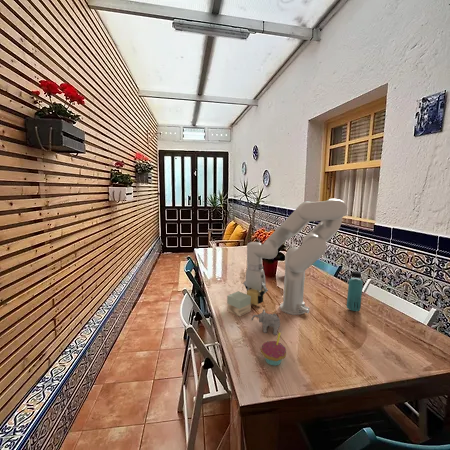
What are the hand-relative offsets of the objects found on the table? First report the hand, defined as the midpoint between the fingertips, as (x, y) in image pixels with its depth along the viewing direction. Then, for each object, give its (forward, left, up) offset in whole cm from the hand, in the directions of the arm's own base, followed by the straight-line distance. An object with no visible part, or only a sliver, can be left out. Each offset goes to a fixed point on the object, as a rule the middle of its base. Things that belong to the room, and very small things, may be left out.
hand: (255, 300), depth 132 cm
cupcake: (-33, +29, -3) cm, 44 cm away
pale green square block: (+1, +11, +1) cm, 11 cm away
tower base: (+1, +11, -3) cm, 11 cm away
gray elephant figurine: (-18, +15, -3) cm, 24 cm away
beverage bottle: (-36, -32, -3) cm, 48 cm away
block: (0, 0, -1) cm, 1 cm away
